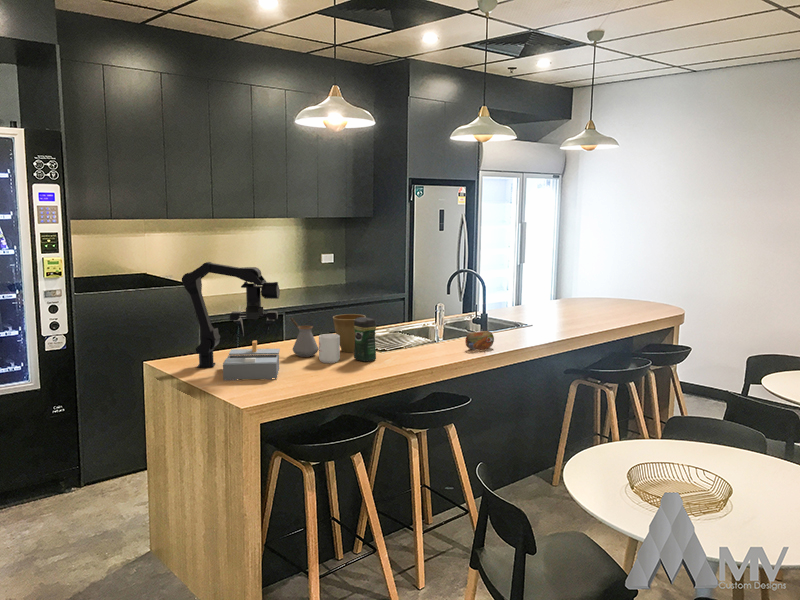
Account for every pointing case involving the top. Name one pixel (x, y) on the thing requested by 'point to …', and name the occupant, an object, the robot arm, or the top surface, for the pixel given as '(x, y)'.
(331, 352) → the mug
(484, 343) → the tin
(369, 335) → the coffee jar
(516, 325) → the top surface
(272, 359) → the lid
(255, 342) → the lid
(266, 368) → the carton
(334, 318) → the plant pot
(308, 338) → the coffee pot
